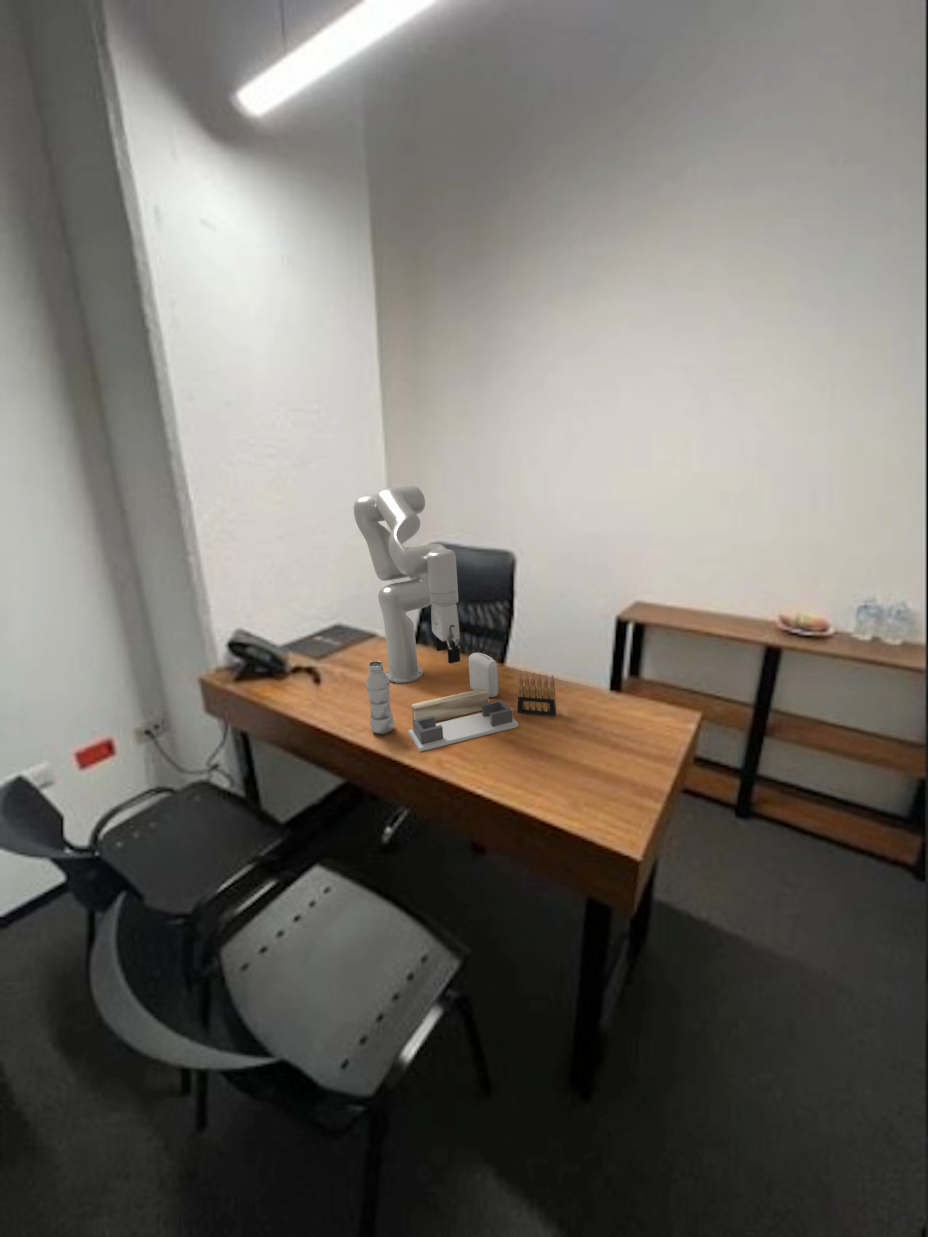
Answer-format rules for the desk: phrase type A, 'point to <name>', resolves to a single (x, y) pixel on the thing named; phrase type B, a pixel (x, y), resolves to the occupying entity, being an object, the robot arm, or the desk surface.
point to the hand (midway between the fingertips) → (448, 655)
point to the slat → (451, 705)
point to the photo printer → (483, 673)
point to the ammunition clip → (536, 696)
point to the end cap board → (462, 726)
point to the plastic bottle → (379, 699)
